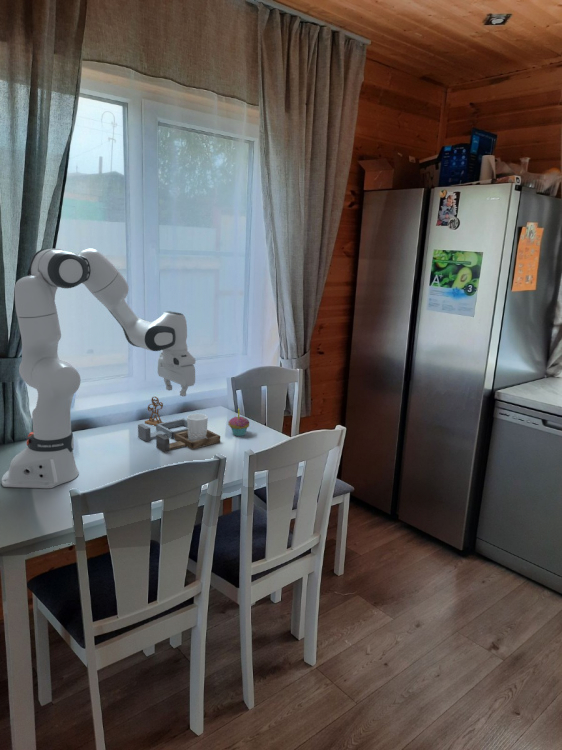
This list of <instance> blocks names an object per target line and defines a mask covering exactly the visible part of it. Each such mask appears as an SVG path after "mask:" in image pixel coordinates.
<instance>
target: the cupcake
mask: <svg viewBox="0 0 562 750" xmlns="http://www.w3.org/2000/svg"><path fill="white" fill-rule="evenodd" d="M240 414H241V413H240V408H238V409H237V416H234V417H232V418H230V419H229V420H228V424H227V425H228V426H229V427H230V428H231V430H232V435H233V436H235V435H236V436H237V437H242V436H243V437H244V436H245V435H246V432H247V429H248V428H249V427H250V421H249V419H247V418H245V417H244V416H241V415H240Z"/></svg>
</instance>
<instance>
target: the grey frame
mask: <svg viewBox="0 0 562 750" xmlns="http://www.w3.org/2000/svg"><path fill="white" fill-rule="evenodd" d="M180 426H184V427H185V428H182V429H181V428H180V429H176V430H171V429H172V428H176V427H180ZM167 428H168V429H167ZM155 430H156V431H155V432H151V427H149V426H148V425H147V424H145V423H140V424H137V435H138V436H137V437H138V438H140V439H141V440H143V441H145V442H149V441H151V440H153V439H156V435H158V434H162V435H164V436H166V437H168V438H169V439H174V434H176V433H180V432H185V431H188V429H187V418H184V417H183V418H178V419H175V420H169V421H165V422H164V423H159V424H156V426H155Z"/></svg>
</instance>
